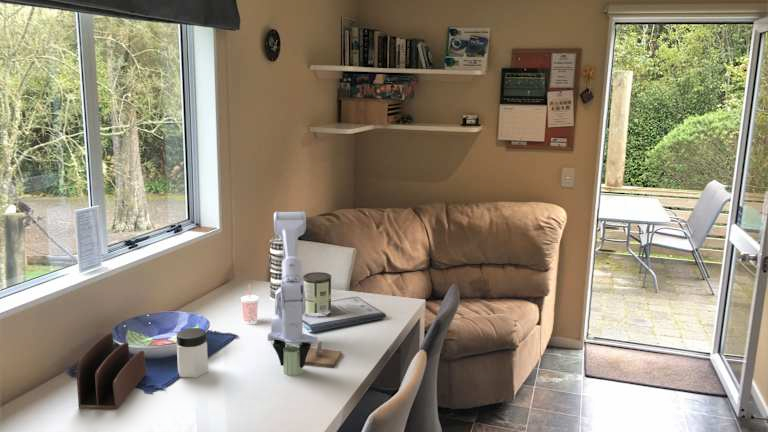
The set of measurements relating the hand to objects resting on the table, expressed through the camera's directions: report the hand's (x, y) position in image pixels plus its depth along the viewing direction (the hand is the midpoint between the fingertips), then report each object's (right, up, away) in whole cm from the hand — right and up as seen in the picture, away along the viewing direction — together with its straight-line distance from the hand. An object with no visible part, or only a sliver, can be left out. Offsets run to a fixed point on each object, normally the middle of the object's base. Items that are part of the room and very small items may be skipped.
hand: (292, 365), depth 182 cm
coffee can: (+2, +8, +48) cm, 49 cm away
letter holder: (-46, -4, -13) cm, 48 cm away
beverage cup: (-20, +6, +37) cm, 43 cm away
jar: (-29, -2, -1) cm, 29 cm away
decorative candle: (-14, +11, +62) cm, 64 cm away
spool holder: (+7, 0, +9) cm, 11 cm away
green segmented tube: (0, -2, 0) cm, 2 cm away
